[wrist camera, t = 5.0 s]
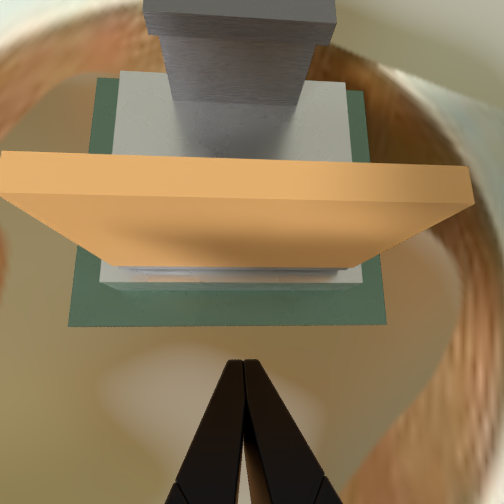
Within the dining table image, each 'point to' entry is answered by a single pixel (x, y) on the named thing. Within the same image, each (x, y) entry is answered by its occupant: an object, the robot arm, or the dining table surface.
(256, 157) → the grey and green stand
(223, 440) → the robot arm
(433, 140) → the dining table surface
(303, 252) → the tan square pad
